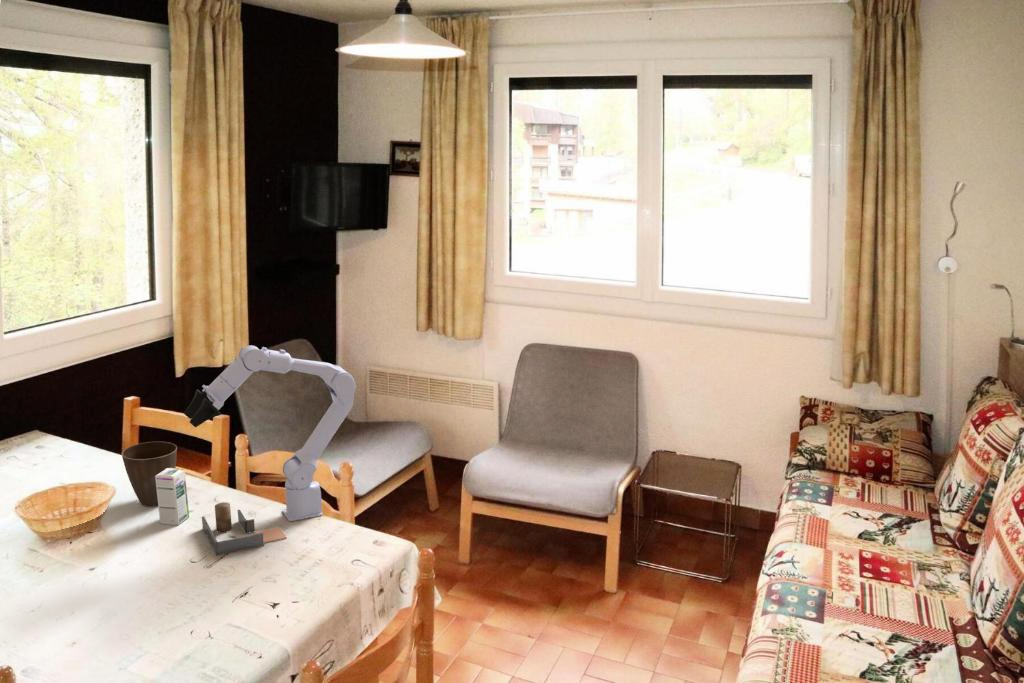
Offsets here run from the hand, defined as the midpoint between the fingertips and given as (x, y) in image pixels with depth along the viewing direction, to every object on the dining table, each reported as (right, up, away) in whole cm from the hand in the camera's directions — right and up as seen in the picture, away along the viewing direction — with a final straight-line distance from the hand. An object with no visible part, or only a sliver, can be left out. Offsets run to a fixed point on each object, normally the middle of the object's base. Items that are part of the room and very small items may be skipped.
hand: (189, 420), depth 245 cm
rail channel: (+9, -32, +6) cm, 34 cm away
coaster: (+19, -32, +7) cm, 38 cm away
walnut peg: (+6, -31, +11) cm, 33 cm away
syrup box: (-10, -29, +16) cm, 35 cm away
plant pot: (-20, -26, +28) cm, 44 cm away
